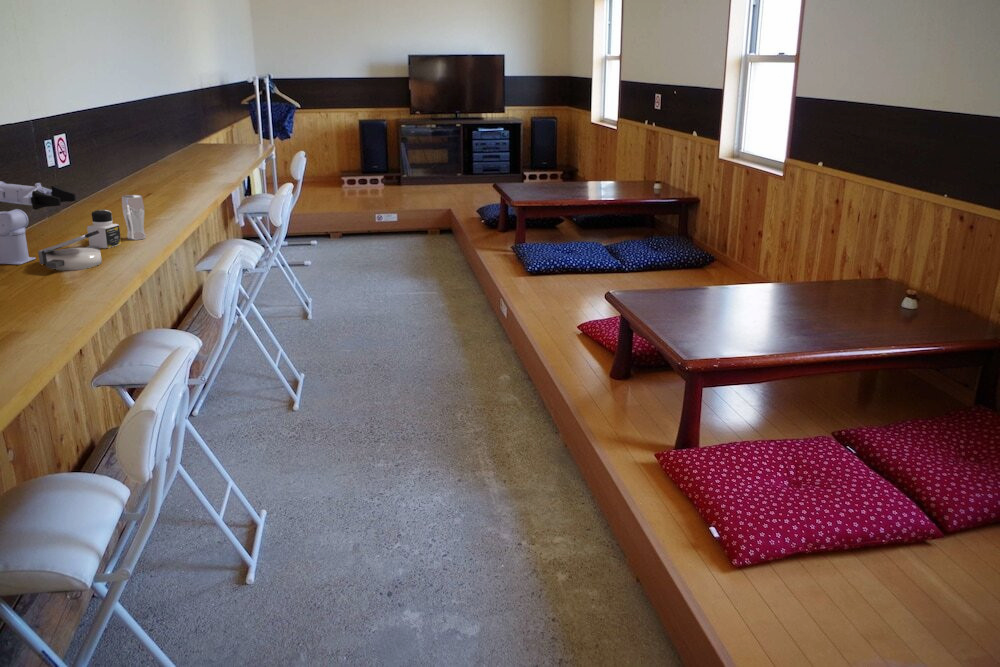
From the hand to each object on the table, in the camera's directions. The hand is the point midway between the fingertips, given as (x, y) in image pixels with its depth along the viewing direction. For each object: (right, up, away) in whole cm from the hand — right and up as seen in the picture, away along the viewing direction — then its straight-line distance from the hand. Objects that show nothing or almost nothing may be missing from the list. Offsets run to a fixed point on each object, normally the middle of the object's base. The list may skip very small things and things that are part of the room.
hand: (67, 199), depth 237 cm
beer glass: (+1, -7, +43) cm, 44 cm away
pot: (-2, -19, +8) cm, 20 cm away
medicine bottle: (-4, -11, +32) cm, 34 cm away
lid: (-2, -13, +5) cm, 14 cm away
